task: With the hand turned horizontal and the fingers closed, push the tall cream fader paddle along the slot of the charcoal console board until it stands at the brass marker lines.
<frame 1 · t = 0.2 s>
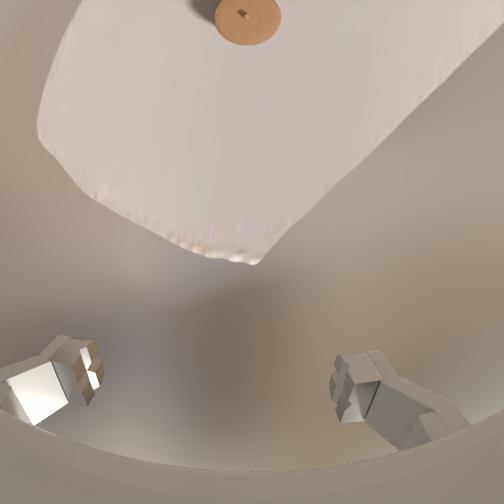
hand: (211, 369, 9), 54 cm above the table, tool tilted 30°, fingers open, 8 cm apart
lidded jar: (248, 19, 39), on the table
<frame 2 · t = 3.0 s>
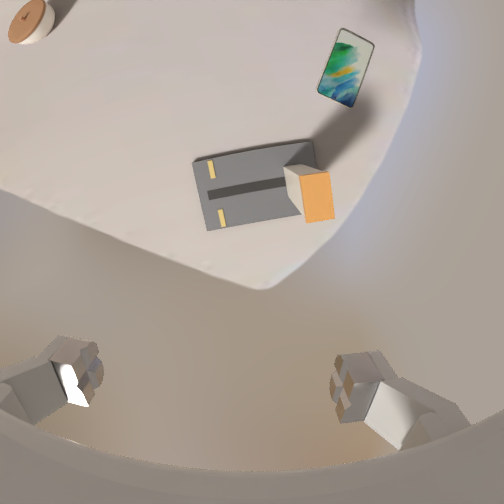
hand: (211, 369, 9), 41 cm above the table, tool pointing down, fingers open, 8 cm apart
smartphone: (345, 67, 40), on the table
lidded jar: (45, 28, 33), on the table
console board: (258, 185, 47), on the table
fader tab: (303, 187, 38), point 10 cm above the table, slide at 0.0 cm
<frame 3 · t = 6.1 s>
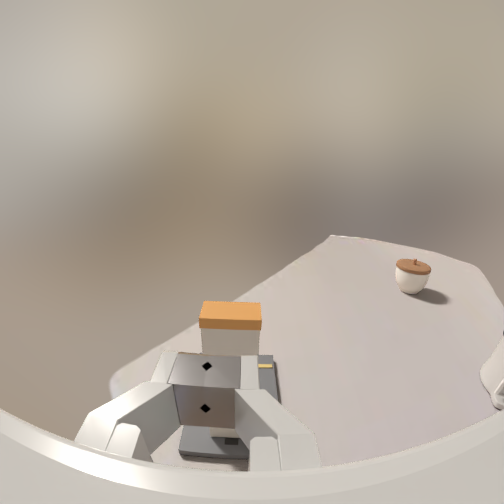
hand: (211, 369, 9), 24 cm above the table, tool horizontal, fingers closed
lidded jar: (408, 290, 73), on the table
console board: (233, 401, 36), on the table
fader tab: (231, 380, 27), point 10 cm above the table, slide at 0.0 cm
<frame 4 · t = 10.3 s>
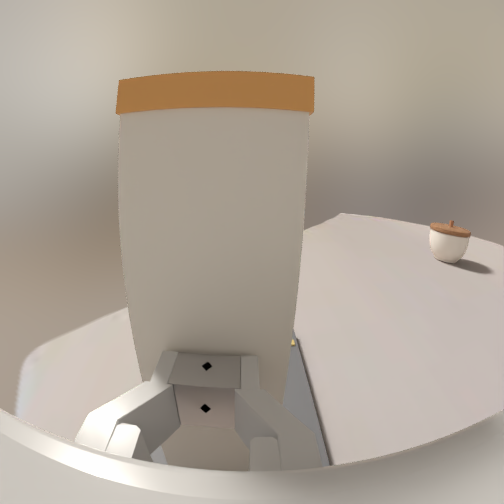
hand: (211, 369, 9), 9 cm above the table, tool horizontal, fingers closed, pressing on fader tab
lidded jar: (445, 260, 56), on the table
console board: (226, 406, 18), on the table
fader tab: (214, 338, 10), point 10 cm above the table, slide at 0.5 cm, touching gripper
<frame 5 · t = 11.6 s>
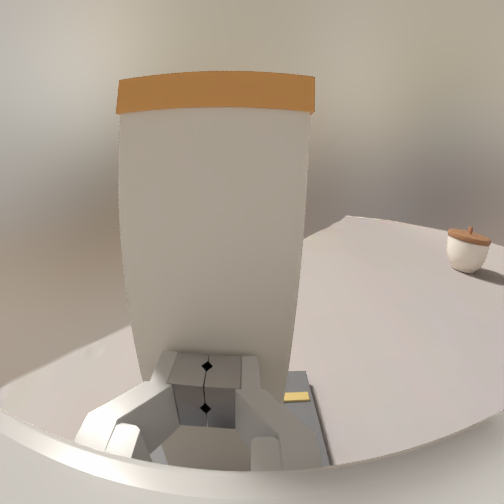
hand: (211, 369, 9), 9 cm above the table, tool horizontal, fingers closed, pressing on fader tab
lidded jar: (462, 269, 49), on the table
console board: (221, 489, 11), on the table
fader tab: (215, 338, 10), point 10 cm above the table, slide at 7.5 cm, touching gripper
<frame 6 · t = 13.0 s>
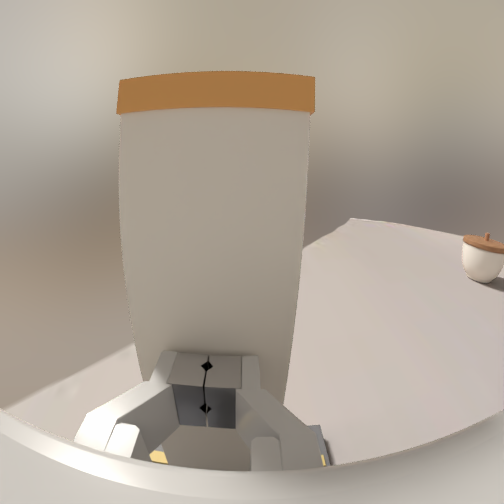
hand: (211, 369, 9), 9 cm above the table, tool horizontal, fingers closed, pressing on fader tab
lidded jar: (478, 279, 44), on the table
fader tab: (215, 338, 10), point 10 cm above the table, slide at 13.3 cm, touching gripper
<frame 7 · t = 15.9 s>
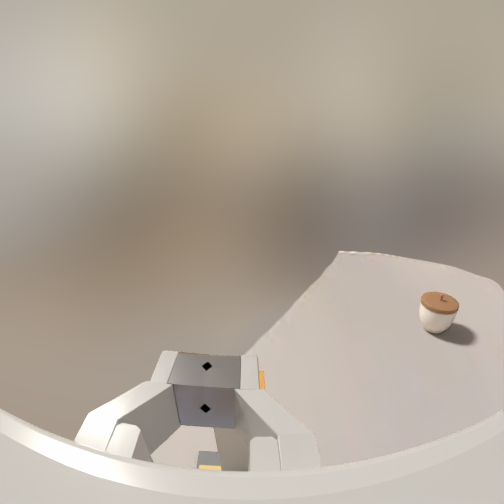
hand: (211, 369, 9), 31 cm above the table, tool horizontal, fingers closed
lidded jar: (432, 328, 60), on the table
fader tab: (239, 433, 27), point 10 cm above the table, slide at 13.4 cm
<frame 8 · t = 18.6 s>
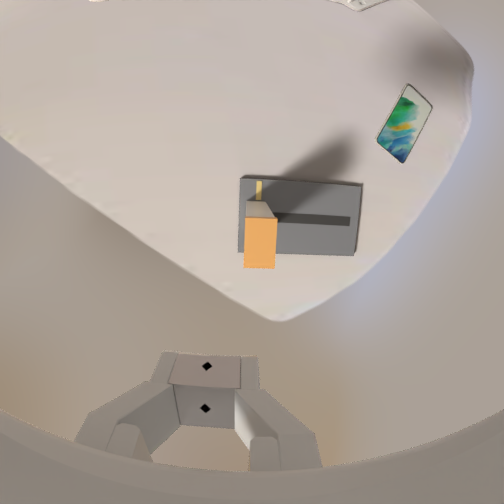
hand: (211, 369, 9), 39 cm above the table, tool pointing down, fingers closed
smartphone: (403, 122, 43), on the table
console board: (299, 217, 47), on the table
fader tab: (257, 227, 37), point 10 cm above the table, slide at 13.4 cm
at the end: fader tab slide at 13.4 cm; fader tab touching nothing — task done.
